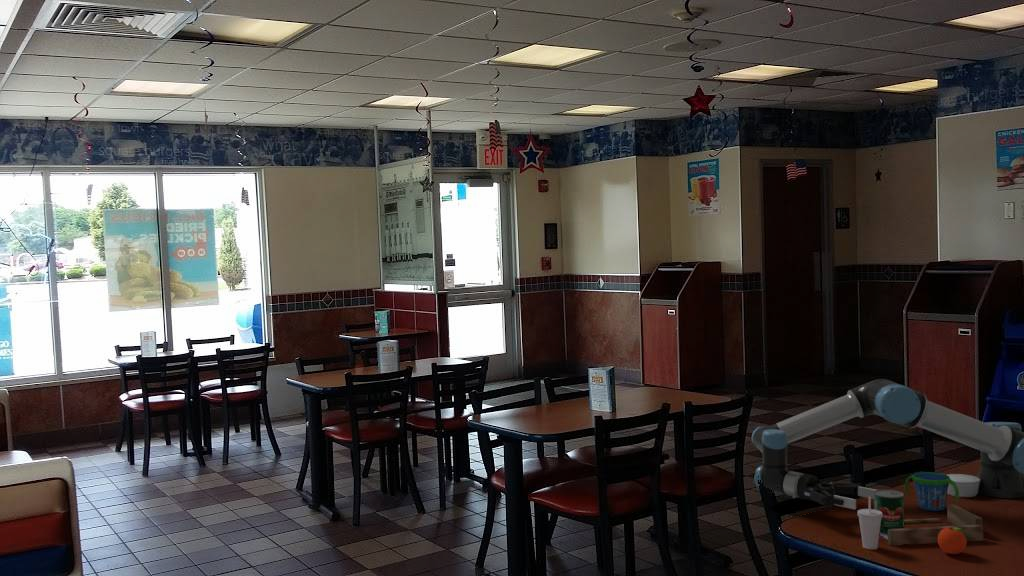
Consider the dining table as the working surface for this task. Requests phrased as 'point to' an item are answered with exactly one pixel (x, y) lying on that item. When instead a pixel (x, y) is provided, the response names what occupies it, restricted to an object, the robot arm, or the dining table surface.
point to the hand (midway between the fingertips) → (867, 499)
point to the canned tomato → (890, 509)
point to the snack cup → (931, 490)
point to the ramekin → (964, 485)
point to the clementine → (952, 540)
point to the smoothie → (870, 526)
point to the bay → (938, 528)
